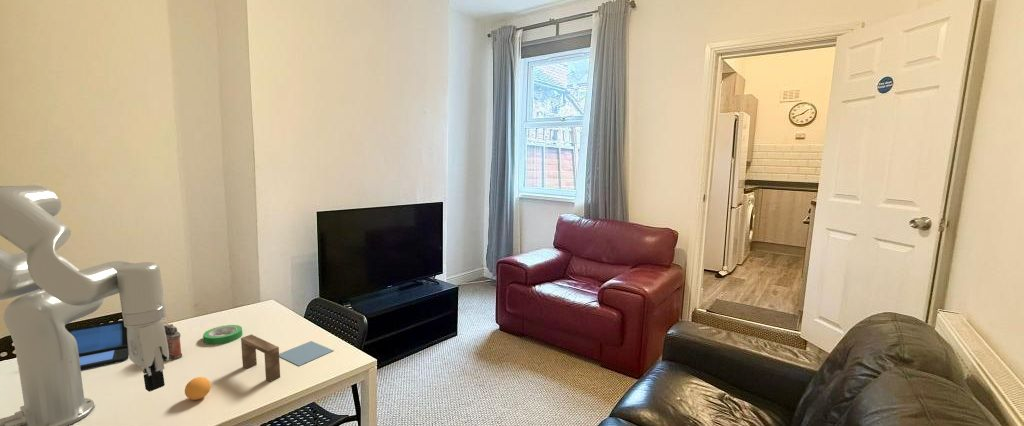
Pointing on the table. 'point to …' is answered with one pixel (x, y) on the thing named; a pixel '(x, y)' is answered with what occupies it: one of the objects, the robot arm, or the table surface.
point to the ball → (197, 388)
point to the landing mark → (305, 353)
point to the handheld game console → (101, 344)
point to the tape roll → (215, 340)
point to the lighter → (173, 341)
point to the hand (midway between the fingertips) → (155, 387)
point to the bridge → (270, 352)
